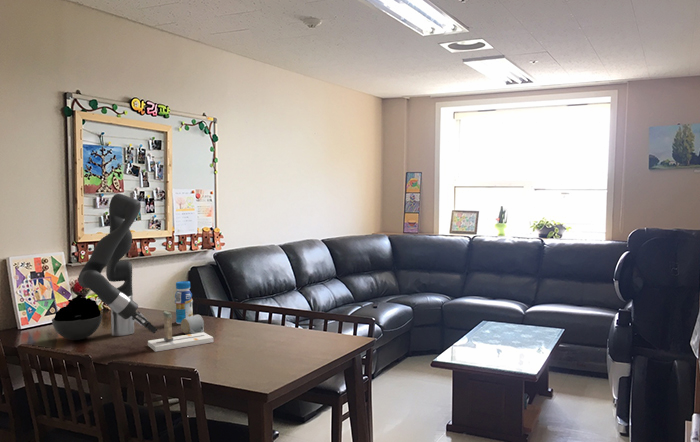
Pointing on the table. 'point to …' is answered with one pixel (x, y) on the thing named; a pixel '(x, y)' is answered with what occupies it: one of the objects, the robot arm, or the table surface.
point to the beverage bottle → (183, 301)
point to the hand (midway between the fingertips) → (155, 331)
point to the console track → (180, 341)
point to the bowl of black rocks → (77, 318)
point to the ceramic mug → (192, 324)
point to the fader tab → (168, 326)
